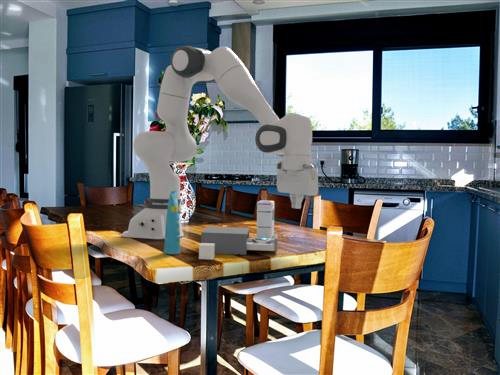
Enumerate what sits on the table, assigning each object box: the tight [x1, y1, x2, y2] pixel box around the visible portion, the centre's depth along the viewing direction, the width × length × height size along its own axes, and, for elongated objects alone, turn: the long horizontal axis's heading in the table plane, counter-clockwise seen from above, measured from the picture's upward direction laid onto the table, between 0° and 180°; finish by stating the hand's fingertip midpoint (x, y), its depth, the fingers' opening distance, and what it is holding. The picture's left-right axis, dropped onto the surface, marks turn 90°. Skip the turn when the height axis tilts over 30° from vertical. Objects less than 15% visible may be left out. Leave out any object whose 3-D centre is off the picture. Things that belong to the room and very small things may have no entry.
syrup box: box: [256, 200, 275, 239], centre depth 170 cm, size 6×6×14 cm
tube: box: [163, 190, 181, 255], centre depth 138 cm, size 7×5×19 cm, turn 3°
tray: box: [246, 233, 279, 252], centre depth 146 cm, size 13×11×4 cm
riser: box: [198, 242, 216, 260], centre depth 133 cm, size 4×4×4 cm
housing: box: [200, 226, 250, 256], centre depth 147 cm, size 14×14×6 cm
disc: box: [252, 237, 271, 244], centre depth 146 cm, size 6×6×2 cm
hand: (296, 208), depth 145 cm, fingers closed
